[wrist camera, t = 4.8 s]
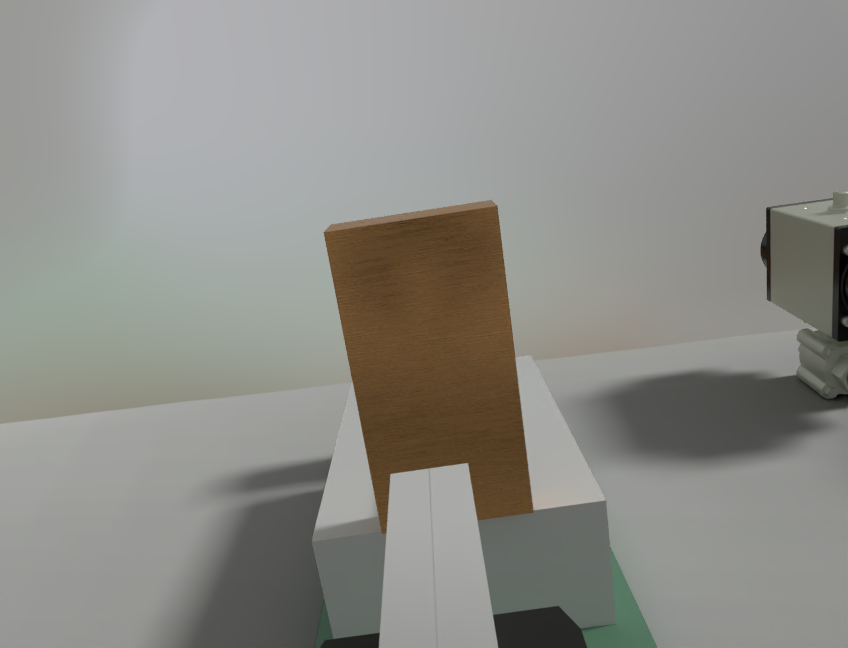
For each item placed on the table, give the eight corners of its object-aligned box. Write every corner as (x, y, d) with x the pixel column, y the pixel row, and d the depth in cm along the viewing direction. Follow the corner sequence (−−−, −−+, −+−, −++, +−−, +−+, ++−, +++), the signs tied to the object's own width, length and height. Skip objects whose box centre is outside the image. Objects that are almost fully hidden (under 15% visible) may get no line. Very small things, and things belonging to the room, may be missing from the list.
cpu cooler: (697, 761, 20) (684, 496, 17) (296, 812, 20) (228, 559, 18) (544, 421, 43) (530, 286, 40) (359, 447, 43) (334, 315, 41)
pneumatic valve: (849, 432, 36) (856, 210, 33) (758, 359, 47) (756, 187, 44) (960, 421, 35) (978, 193, 32) (840, 349, 47) (845, 175, 43)
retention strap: (533, 512, 22) (497, 205, 19) (381, 533, 22) (323, 232, 19) (488, 365, 35) (462, 174, 33) (394, 379, 35) (361, 189, 33)
